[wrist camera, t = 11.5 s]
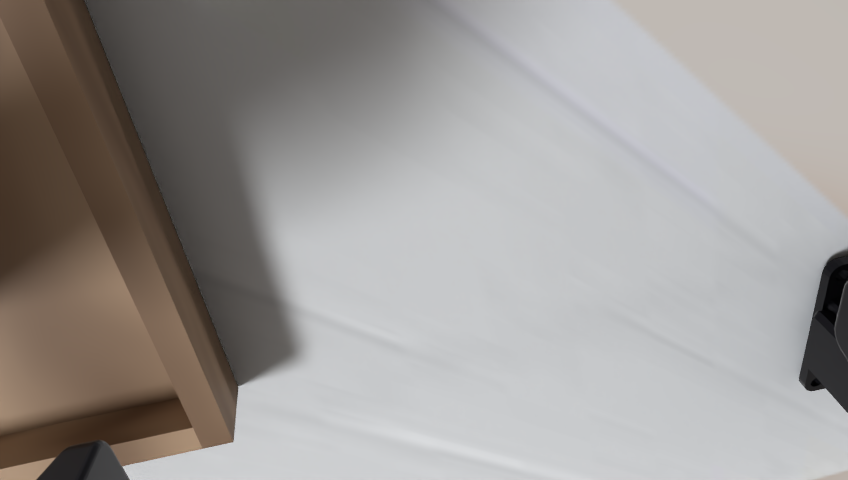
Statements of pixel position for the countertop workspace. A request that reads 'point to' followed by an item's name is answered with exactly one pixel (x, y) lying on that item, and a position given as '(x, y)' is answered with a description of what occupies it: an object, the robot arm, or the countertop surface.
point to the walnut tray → (91, 266)
